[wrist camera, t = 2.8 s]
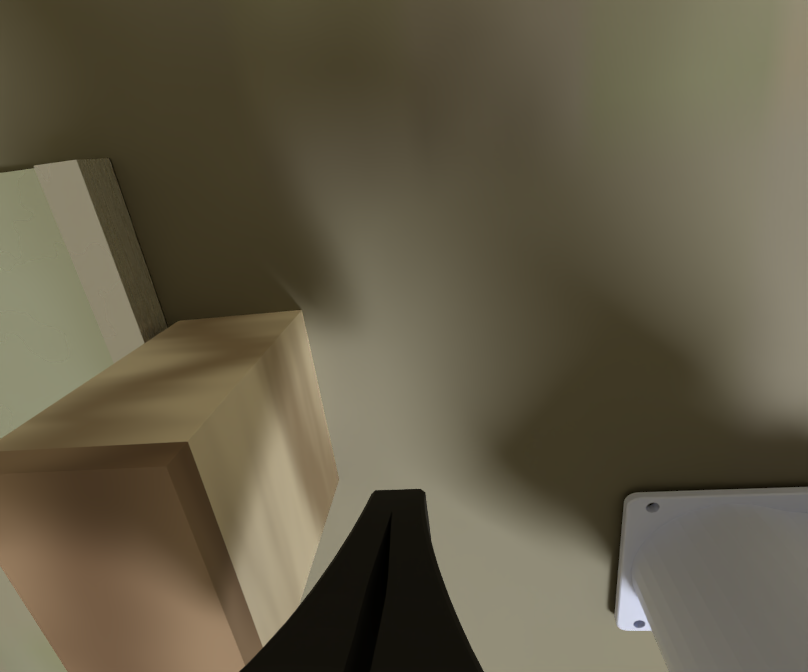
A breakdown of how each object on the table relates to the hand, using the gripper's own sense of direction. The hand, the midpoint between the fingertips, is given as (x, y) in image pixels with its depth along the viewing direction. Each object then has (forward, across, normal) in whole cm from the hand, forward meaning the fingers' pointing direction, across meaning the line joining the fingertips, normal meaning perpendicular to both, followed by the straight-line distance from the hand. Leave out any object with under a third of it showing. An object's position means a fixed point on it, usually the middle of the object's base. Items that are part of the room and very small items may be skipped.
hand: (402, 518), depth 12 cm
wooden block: (+6, +6, 0) cm, 9 cm away
